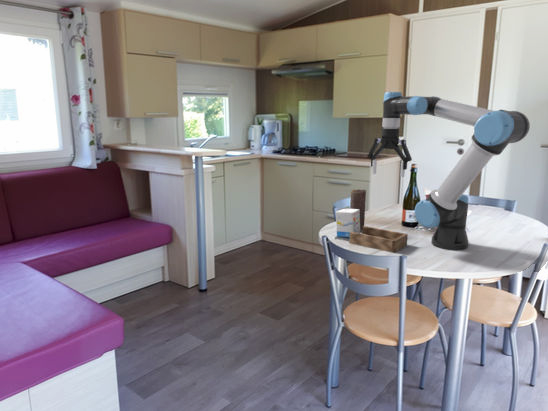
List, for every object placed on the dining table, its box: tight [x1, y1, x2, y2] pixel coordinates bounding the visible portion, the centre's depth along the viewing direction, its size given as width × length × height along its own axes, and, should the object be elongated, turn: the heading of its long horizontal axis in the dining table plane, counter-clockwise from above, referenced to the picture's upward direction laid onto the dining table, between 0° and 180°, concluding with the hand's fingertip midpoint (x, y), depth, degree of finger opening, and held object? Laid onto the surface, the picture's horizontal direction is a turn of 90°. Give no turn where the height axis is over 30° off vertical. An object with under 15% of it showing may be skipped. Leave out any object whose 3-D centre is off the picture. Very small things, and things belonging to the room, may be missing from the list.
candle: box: [349, 189, 367, 231], centre depth 214 cm, size 8×7×20 cm
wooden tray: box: [348, 225, 409, 254], centre depth 195 cm, size 21×13×5 cm, turn 52°
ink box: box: [335, 208, 361, 237], centre depth 203 cm, size 9×8×12 cm
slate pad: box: [334, 235, 350, 242], centre depth 204 cm, size 8×10×1 cm
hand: (387, 175), depth 200 cm, fingers open, 13 cm apart
